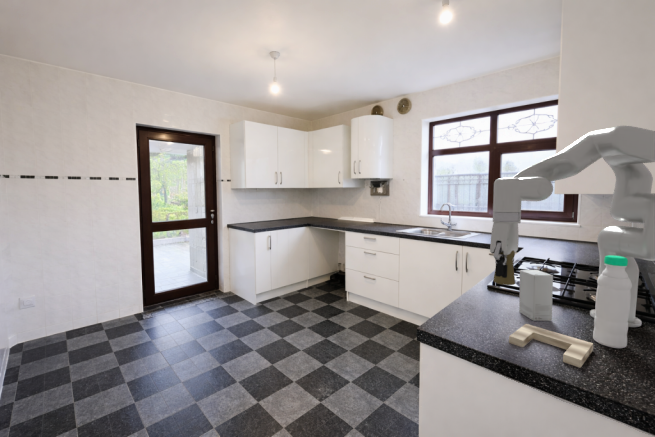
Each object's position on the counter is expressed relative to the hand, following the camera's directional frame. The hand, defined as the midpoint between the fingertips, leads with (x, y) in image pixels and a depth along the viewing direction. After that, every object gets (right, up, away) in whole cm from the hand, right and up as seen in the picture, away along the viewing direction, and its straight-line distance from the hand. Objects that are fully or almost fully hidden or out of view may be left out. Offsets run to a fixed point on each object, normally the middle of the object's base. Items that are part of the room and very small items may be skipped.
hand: (504, 274), depth 96 cm
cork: (0, -3, 0) cm, 3 cm away
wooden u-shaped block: (+6, -18, -12) cm, 22 cm away
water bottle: (+24, -18, -10) cm, 31 cm away
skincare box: (+15, -16, +9) cm, 24 cm away
